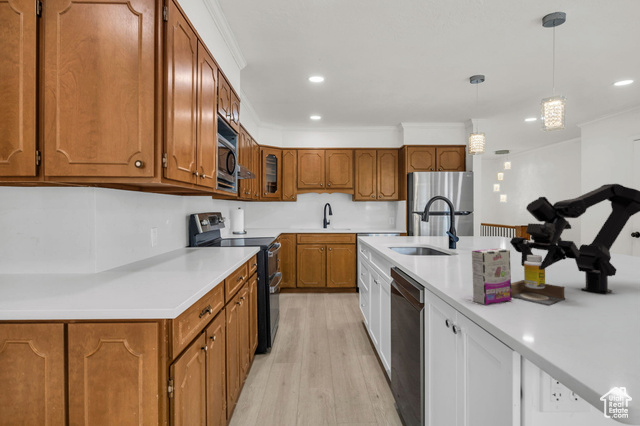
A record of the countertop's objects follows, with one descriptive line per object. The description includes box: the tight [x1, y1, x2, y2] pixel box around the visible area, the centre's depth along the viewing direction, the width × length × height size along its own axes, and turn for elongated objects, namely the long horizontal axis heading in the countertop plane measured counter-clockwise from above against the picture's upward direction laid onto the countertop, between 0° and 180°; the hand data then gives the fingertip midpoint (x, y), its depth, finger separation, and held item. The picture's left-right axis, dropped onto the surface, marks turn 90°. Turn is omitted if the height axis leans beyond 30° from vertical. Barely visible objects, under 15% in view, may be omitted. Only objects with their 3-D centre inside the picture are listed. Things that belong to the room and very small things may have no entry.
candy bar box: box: [471, 248, 513, 306], centre depth 97 cm, size 11×5×16 cm, turn 109°
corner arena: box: [511, 279, 566, 307], centre depth 99 cm, size 12×12×4 cm
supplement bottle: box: [523, 254, 546, 289], centre depth 99 cm, size 6×6×10 cm
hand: (531, 266), depth 98 cm, fingers closed on supplement bottle, 6 cm apart
